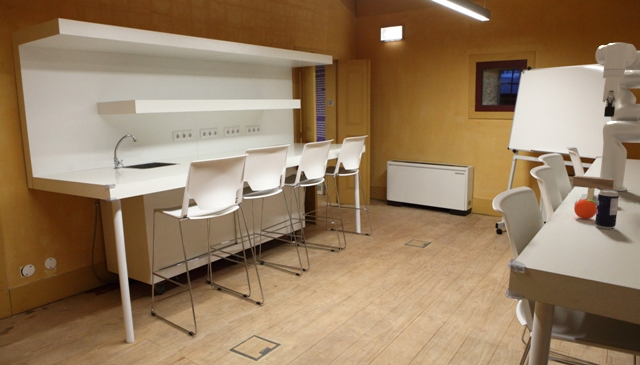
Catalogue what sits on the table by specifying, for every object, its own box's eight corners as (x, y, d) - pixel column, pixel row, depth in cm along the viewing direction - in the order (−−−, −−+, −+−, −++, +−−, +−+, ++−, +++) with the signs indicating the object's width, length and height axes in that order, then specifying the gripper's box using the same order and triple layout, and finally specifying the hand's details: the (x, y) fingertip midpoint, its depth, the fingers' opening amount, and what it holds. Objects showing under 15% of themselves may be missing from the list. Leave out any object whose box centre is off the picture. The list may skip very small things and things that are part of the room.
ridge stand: (582, 196, 200) (583, 182, 199) (601, 197, 196) (602, 184, 195) (578, 203, 185) (579, 188, 184) (598, 205, 181) (600, 190, 180)
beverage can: (609, 225, 153) (613, 189, 151) (618, 229, 147) (623, 193, 145) (591, 224, 154) (595, 189, 151) (600, 229, 148) (604, 192, 146)
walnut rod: (573, 184, 193) (574, 175, 192) (613, 188, 185) (614, 178, 185) (572, 186, 190) (573, 176, 189) (612, 189, 182) (613, 179, 181)
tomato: (600, 218, 162) (602, 198, 161) (598, 222, 156) (601, 202, 155) (574, 215, 166) (576, 196, 165) (572, 219, 160) (574, 199, 159)
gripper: (604, 75, 198) (599, 115, 201) (601, 73, 184) (597, 116, 187) (624, 75, 194) (620, 116, 197) (624, 73, 180) (619, 117, 183)
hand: (609, 116), depth 192 cm, fingers open, 9 cm apart
